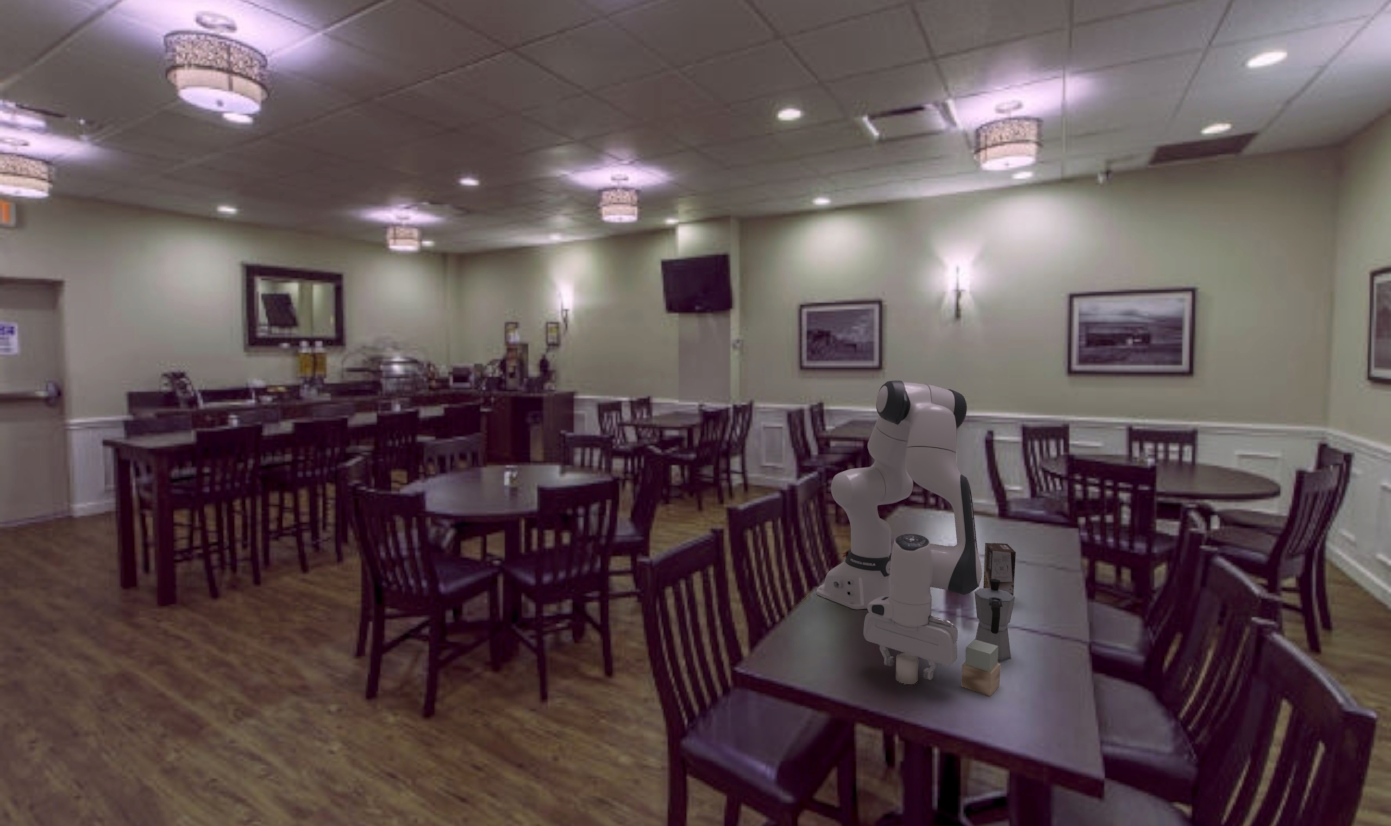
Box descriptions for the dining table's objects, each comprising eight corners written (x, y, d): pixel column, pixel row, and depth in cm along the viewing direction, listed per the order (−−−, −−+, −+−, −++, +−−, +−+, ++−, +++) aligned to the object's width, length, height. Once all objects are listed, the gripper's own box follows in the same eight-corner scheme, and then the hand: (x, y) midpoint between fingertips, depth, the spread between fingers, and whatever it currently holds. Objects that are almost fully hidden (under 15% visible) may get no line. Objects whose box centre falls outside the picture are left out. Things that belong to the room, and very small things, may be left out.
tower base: (961, 686, 142) (962, 664, 142) (971, 676, 146) (972, 655, 146) (990, 696, 138) (991, 673, 138) (999, 685, 142) (1000, 663, 142)
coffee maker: (971, 638, 165) (974, 569, 164) (1010, 644, 162) (1013, 573, 160) (972, 665, 151) (976, 589, 150) (1015, 672, 148) (1018, 594, 147)
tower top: (965, 664, 142) (966, 646, 141) (973, 656, 145) (974, 639, 145) (989, 672, 138) (990, 653, 138) (997, 663, 142) (998, 646, 141)
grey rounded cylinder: (892, 680, 145) (892, 658, 144) (901, 672, 148) (901, 651, 148) (912, 687, 142) (912, 664, 141) (921, 679, 145) (921, 657, 145)
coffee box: (1013, 608, 185) (1016, 552, 183) (989, 606, 186) (991, 550, 185) (1005, 596, 194) (1008, 542, 192) (982, 594, 195) (984, 541, 194)
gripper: (963, 618, 139) (961, 681, 140) (873, 595, 152) (872, 652, 154) (952, 628, 134) (950, 692, 135) (860, 602, 148) (859, 662, 149)
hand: (908, 671), depth 145 cm, fingers open, 8 cm apart
